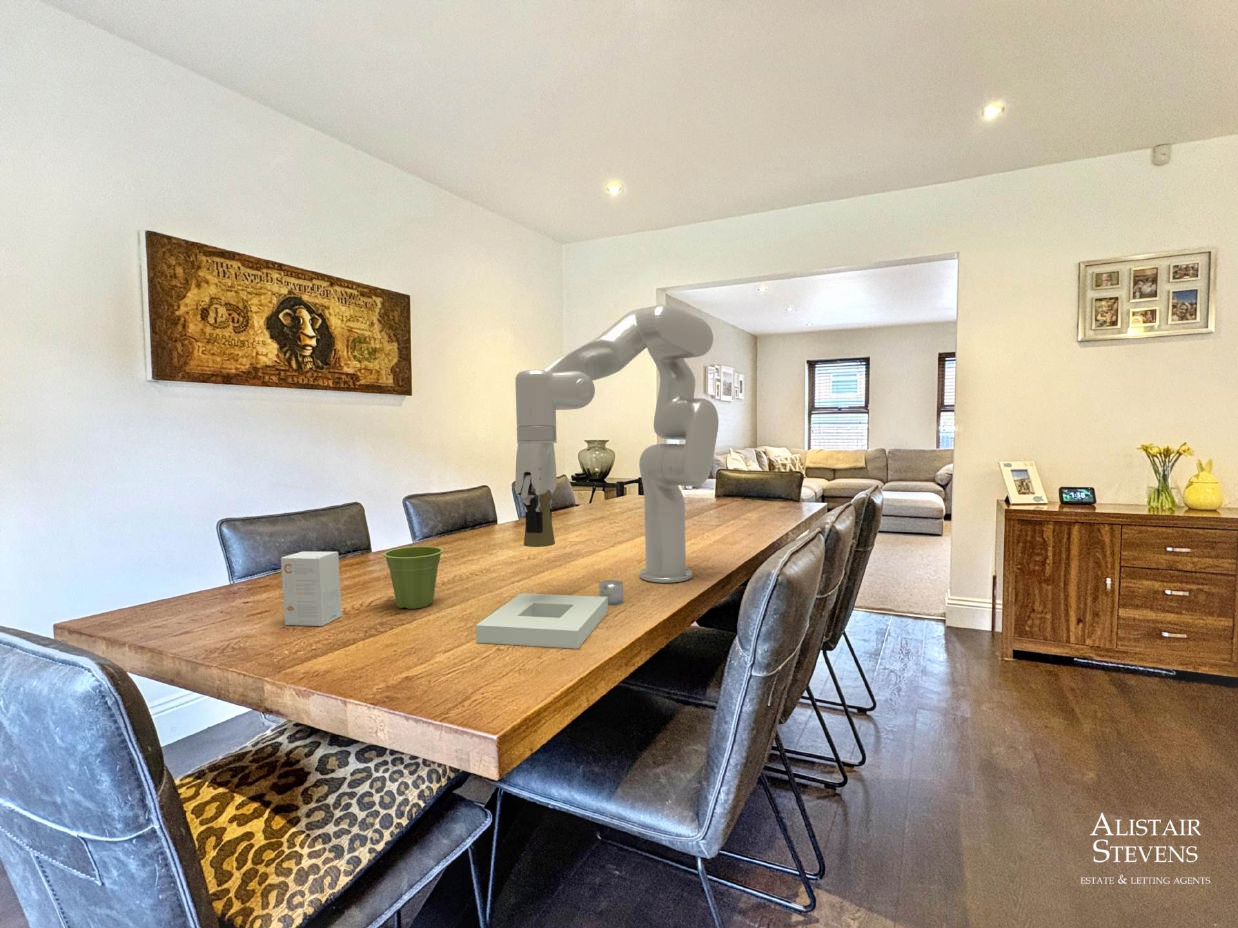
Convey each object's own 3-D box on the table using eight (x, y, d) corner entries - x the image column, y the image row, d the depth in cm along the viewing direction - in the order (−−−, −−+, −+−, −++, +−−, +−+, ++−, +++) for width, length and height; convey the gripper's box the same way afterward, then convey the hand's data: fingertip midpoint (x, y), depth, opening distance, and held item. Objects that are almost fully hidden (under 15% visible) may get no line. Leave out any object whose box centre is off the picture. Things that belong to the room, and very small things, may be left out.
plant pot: (407, 616, 120) (405, 559, 119) (374, 607, 127) (371, 553, 126) (457, 602, 129) (455, 549, 128) (423, 593, 136) (420, 543, 135)
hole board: (521, 607, 124) (520, 593, 123) (607, 611, 120) (607, 596, 119) (476, 642, 104) (475, 625, 104) (578, 648, 100) (577, 630, 100)
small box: (342, 616, 121) (339, 551, 120) (322, 626, 115) (318, 558, 114) (306, 615, 122) (302, 550, 121) (283, 625, 116) (279, 557, 115)
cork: (558, 541, 121) (556, 485, 121) (550, 547, 115) (549, 488, 115) (528, 541, 122) (527, 486, 122) (519, 546, 116) (518, 489, 116)
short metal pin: (602, 598, 130) (602, 579, 129) (625, 599, 128) (625, 580, 128) (596, 605, 125) (596, 585, 125) (620, 606, 124) (620, 586, 123)
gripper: (535, 435, 127) (537, 523, 128) (499, 436, 110) (502, 537, 111) (569, 434, 125) (571, 524, 126) (538, 436, 109) (541, 538, 110)
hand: (539, 529), depth 119 cm, fingers closed on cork, 4 cm apart
